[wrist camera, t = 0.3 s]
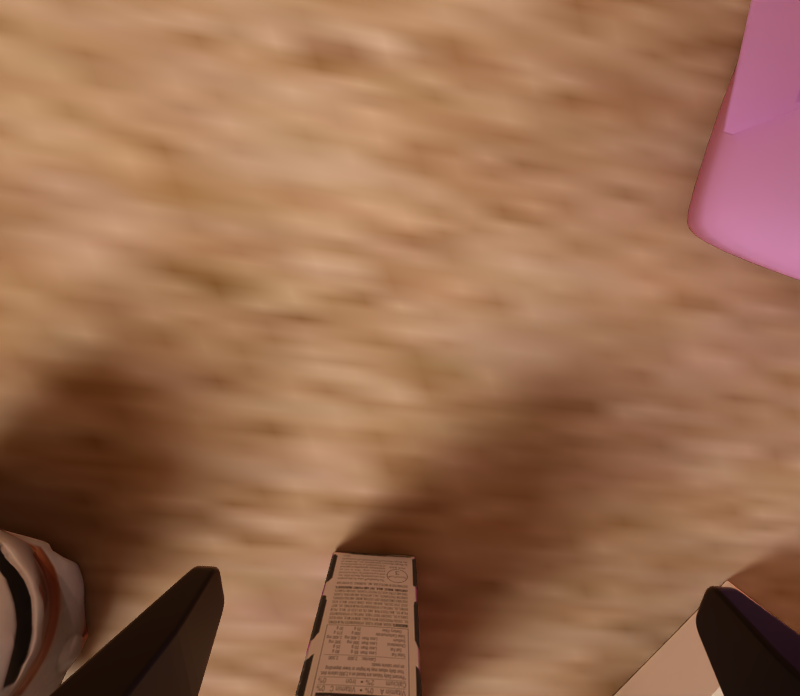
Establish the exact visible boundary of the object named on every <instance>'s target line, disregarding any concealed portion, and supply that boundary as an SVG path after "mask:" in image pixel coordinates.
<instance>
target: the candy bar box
mask: <svg viewBox="0 0 800 696" xmlns="http://www.w3.org/2000/svg"><path fill="white" fill-rule="evenodd" d="M419 650H420V649H419V627H418V600H417V575H416V559H415V557H413V556H406V555H372V554H361V553H342V552H334V553H333V555H332V559H331V563H330V567H329V571H328V574H327V578H326V581H325V585H324V589H323V592H322V596H321V599H320V603H319V607H318V611H317V615H316V619H315V622H314V626H313V630H312V634H311V638H310V642H309V645H308V649H307V652H306V656H305V660H304V665H303V669H302V672H301V676H300V680H299V683H298V687H297V691H296V694H295V696H422V694H421V679H420V654H419Z"/></svg>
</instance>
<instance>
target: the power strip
mask: <svg viewBox="0 0 800 696" xmlns="http://www.w3.org/2000/svg"><path fill="white" fill-rule="evenodd" d="M721 587H732V588H735V589H737V590H738V591H740V592H741V593H743V592H742V591H741V590H739V589H738V588H737V587H735V586H734V585H733V584H731V583H730V582H729V581H728V580H727V581H726V582H725V583H724V584H723V585H722V586H721ZM743 594H744V593H743ZM744 595H745V596H747V595H746V594H744ZM747 597H748V596H747ZM748 598H750V597H748ZM750 599H751V598H750ZM751 600H752V599H751ZM752 601H754V600H752ZM754 602H755V601H754ZM755 603H756V602H755ZM756 604H758V603H756ZM758 605H759V604H758ZM759 606H760V605H759ZM762 608H763V607H762ZM763 609H764V608H763ZM698 610H699V609H698ZM698 610H697V611H696V612H695V613H694V614H693V615H692V616H691V617H690V618H689V619H688V620H687V622H686V623H685V624H684V625H683V626H682V627H681V628H680V629H679V630H678V631H677V632H676V633H675V634H674V635H673V636H672V637H671V638H670V639H669V640H668V641H667V642H666V643H665V644H664V645H663V646H662V647H661V648H660V649H659V650H658V651H657V652H656V653H655V654H654V655H653V656H652V657H651V658H650V659H649V660H648V661H647V662H646V663H645V664H644V665H643V666H642V667H641V668H640V669H639V670H638V671H637V672H636V674H635V675H634V676H633V677H632V678H631V679H630V680H629V681H628V682H627V683H626V684H625V685H624V686H623V687H622V688H621V689H620V690H619V691H618V692H617V693H616V694H615V695H614V696H724V695H723V693H722V691H721V688H720V686H719V683H718V681H717V678H716V676H715V673H714V671H713V668H712V666H711V663H710V661H709V658H708V656H707V654H706V651H705V649H704V646H703V644H702V641H701V639H700V636H699V634H698V631H697V627H696V615H697V612H698ZM766 611H767V610H766ZM767 612H768V611H767ZM770 614H771V613H770ZM771 615H772V614H771Z"/></svg>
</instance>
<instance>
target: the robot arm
mask: <svg viewBox="0 0 800 696" xmlns="http://www.w3.org/2000/svg"><path fill="white" fill-rule="evenodd" d="M223 607H224V594H223V588H222V582H221V576H220V572H219V569H218V568H217V567H212V566H197V567H194V568H193V569H191V570H190V571H189V572H188V573H187V574H186V575H184V576H183V577H182V578H181V579H180V580H179V581H178V582H177V583H175V584H174V585H173V586H172V587H171V588H170V589H169V590H167V591H166V592H165V593H164V594H163V595H162V596H161V597H160V598H158V599H157V600H156V601H155V602H154V603H153V604H152V605H151V606H149V607H148V608H147V609H146V610H145V611H144V612H143V613H141V614H140V615H139V616H138V617H137V618H136V619H135V620H134V621H132V622H131V623H130V624H129V625H128V626H127V627H126V628H125V629H123V630H122V631H121V632H120V633H119V634H118V635H117V636H115V637H114V638H113V639H112V640H111V641H110V642H109V643H108V644H106V645H105V646H104V647H103V648H102V649H101V650H100V651H99V652H97V653H96V654H95V655H94V656H93V657H92V658H91V659H89V660H88V661H87V662H86V663H85V664H84V665H83V666H82V667H80V668H79V669H78V670H77V671H76V672H75V673H74V674H73V675H71V676H70V677H69V678H68V679H67V680H66V681H65V682H63V683H62V684H61V685H60V686H59V687H58V688H57V689H56V690H54V691H53V692H52V693H51V694H50V695H49V696H198V693H199V690H200V687H201V684H202V680H203V677H204V673H205V670H206V666H207V663H208V660H209V656H210V653H211V649H212V646H213V643H214V639H215V636H216V632H217V629H218V626H219V622H220V619H221V615H222V612H223ZM696 627H697V631H698V634H699V636H700V639H701V641H702V644H703V646H704V649H705V651H706V654H707V656H708V658H709V661H710V663H711V666H712V668H713V671H714V673H715V676H716V678H717V681H718V683H719V686H720V688H721V691H722V693H723V695H724V696H800V635H799V634H797V633H796V632H795V631H793V630H792V629H791V628H789V627H788V626H787V625H785V624H784V623H782V622H781V621H780V620H778V619H777V618H776V617H774V616H773V615H771V614H770V613H769V612H767V611H766V610H765V609H763V608H762V607H761V606H759V605H758V604H756V603H755V602H754V601H752V600H751V599H750V598H748V597H747V596H745V595H744V594H743V593H741V592H740V591H738V590H737V589H735V588H732V587H719V586H712V587H709V588H708V589H707V590H706V592H705V594H704V597H703V599H702V602H701V605H700V607H699V610H698V612H697V615H696Z"/></svg>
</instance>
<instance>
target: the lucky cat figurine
mask: <svg viewBox="0 0 800 696" xmlns="http://www.w3.org/2000/svg"><path fill="white" fill-rule="evenodd" d="M84 592H85V590H84V582H83V577H82V574H81V572H80V567H79V565H78V563H75V562H73V561H71V560H69V559H66V558H64V557H62V556H61V555H59V554H58V553H56V552H54V551H53V550H52V549H51V547H50V545H49V543H46V542H44V541H42V540H38V539H35V538H31V537H27V536H24V535H20V534H16V533H13V532H9V531H5V530H3V529H0V696H49V695H50V694H51V693H52V692H53V691H54V690H56V689H57V688H58V687H59V686H60V685H61V683H62V680H63V678H64V676H65V674H66V672H67V670H68V669H69V668H70V666H71V665H72V664H73V662H74V661H75V660H76V658H77V657H78V656H79V654H80V652H81V650H82V648H83V646H84V644H85V642H86V640H87V638H88V631H87V628H86V617H85V604H84Z"/></svg>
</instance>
